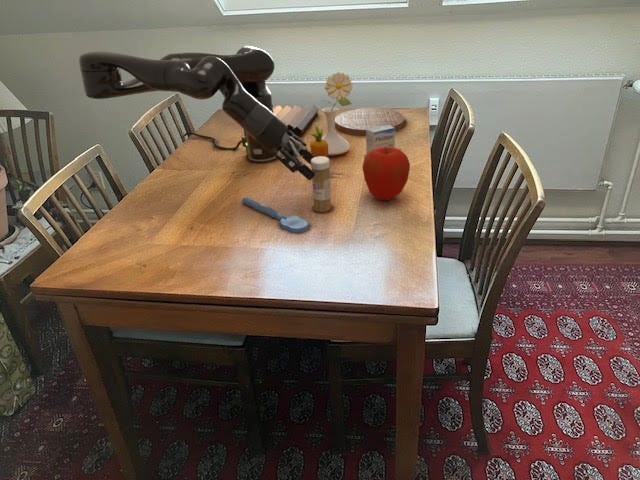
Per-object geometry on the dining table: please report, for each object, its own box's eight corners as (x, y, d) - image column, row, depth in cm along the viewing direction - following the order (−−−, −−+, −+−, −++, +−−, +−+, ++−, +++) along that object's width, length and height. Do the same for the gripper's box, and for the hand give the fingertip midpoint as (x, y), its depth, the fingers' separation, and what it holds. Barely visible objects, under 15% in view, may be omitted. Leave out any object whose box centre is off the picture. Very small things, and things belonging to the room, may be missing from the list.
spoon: (236, 206, 138) (235, 199, 137) (251, 199, 141) (250, 193, 140) (296, 235, 123) (296, 228, 122) (312, 227, 126) (312, 220, 125)
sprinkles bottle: (310, 209, 134) (306, 160, 127) (321, 203, 137) (318, 154, 130) (323, 214, 131) (321, 164, 124) (335, 207, 134) (333, 158, 127)
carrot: (327, 182, 148) (325, 130, 140) (310, 181, 149) (307, 130, 141) (331, 175, 152) (328, 124, 144) (314, 174, 153) (311, 124, 145)
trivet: (408, 133, 179) (408, 128, 178) (335, 136, 180) (335, 131, 179) (400, 111, 200) (400, 106, 200) (334, 114, 201) (334, 109, 200)
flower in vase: (308, 156, 165) (303, 75, 152) (322, 144, 174) (318, 66, 161) (348, 161, 161) (345, 77, 148) (359, 147, 170) (358, 68, 157)
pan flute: (302, 136, 182) (318, 114, 203) (301, 126, 180) (318, 105, 201) (234, 134, 188) (257, 112, 208) (233, 125, 186) (256, 104, 207)
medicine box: (373, 160, 160) (373, 132, 156) (365, 155, 164) (365, 128, 159) (395, 154, 163) (395, 127, 159) (387, 150, 166) (387, 123, 162)
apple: (396, 211, 130) (397, 158, 123) (354, 202, 136) (353, 150, 129) (416, 192, 139) (418, 141, 132) (375, 184, 145) (375, 135, 138)
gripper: (259, 127, 132) (307, 169, 137) (247, 147, 120) (301, 192, 124) (278, 105, 129) (327, 149, 133) (268, 124, 117) (322, 171, 121)
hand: (314, 170), depth 129 cm, fingers open, 8 cm apart
